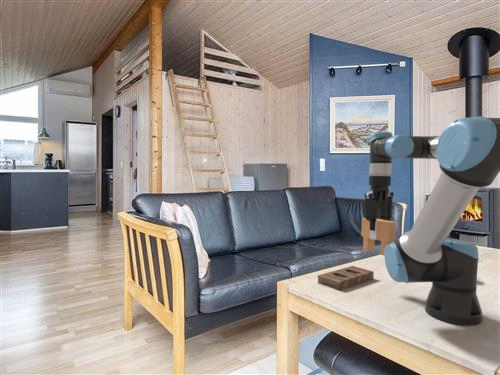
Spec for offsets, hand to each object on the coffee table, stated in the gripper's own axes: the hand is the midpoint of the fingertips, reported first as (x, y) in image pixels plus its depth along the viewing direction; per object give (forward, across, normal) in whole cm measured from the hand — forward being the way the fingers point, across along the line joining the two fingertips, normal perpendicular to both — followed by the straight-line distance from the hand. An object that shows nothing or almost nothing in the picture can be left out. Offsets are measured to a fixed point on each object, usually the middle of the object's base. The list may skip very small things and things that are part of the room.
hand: (377, 238), depth 126 cm
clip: (+5, 0, 0) cm, 5 cm away
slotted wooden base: (+19, +4, -12) cm, 22 cm away
